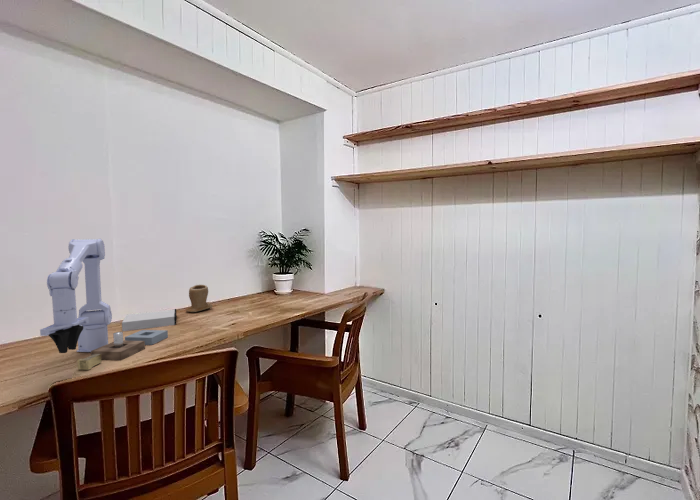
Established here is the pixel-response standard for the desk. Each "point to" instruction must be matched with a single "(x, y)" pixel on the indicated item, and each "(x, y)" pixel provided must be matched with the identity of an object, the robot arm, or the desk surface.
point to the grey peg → (118, 339)
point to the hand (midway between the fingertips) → (67, 351)
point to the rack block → (148, 336)
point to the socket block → (119, 350)
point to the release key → (89, 362)
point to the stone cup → (198, 298)
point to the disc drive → (149, 320)
